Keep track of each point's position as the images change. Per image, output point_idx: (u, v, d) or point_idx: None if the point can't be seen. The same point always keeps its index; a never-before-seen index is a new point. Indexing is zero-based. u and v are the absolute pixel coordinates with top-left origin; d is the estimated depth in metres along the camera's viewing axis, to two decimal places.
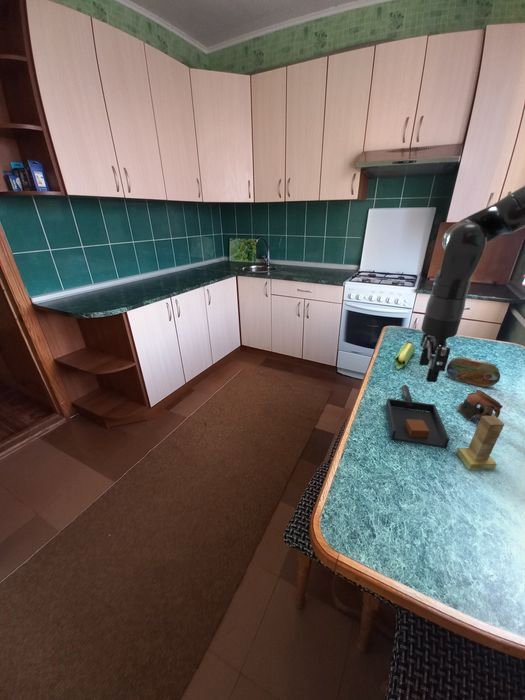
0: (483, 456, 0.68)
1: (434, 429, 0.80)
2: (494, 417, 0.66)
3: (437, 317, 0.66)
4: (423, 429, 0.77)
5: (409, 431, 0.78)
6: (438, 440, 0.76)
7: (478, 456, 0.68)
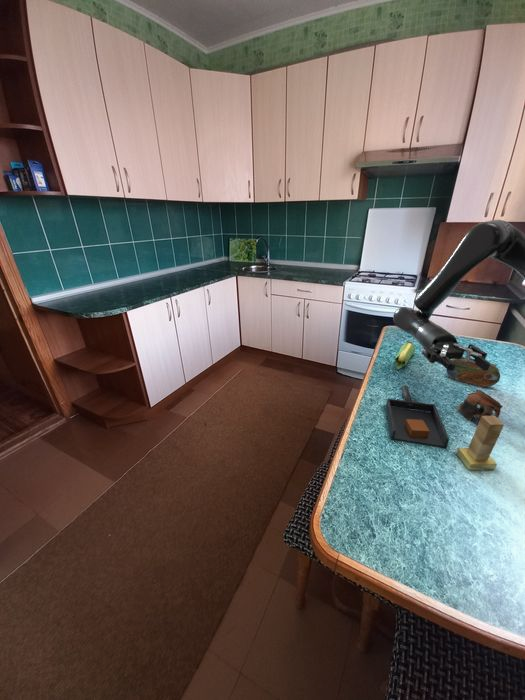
0: (483, 456, 0.68)
1: (434, 429, 0.80)
2: (494, 417, 0.66)
3: (422, 345, 0.87)
4: (423, 429, 0.77)
5: (409, 431, 0.78)
6: (438, 440, 0.76)
7: (478, 456, 0.68)
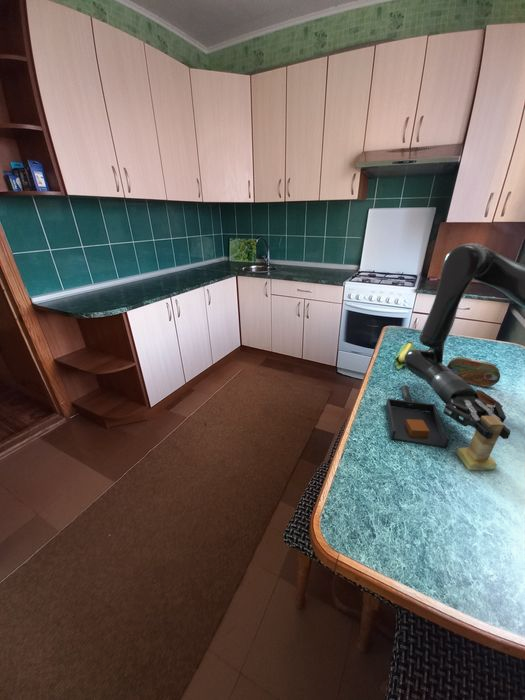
0: (483, 456, 0.68)
1: (434, 429, 0.80)
2: (494, 417, 0.65)
3: None
4: (423, 429, 0.77)
5: (409, 431, 0.78)
6: (438, 440, 0.76)
7: (478, 456, 0.68)
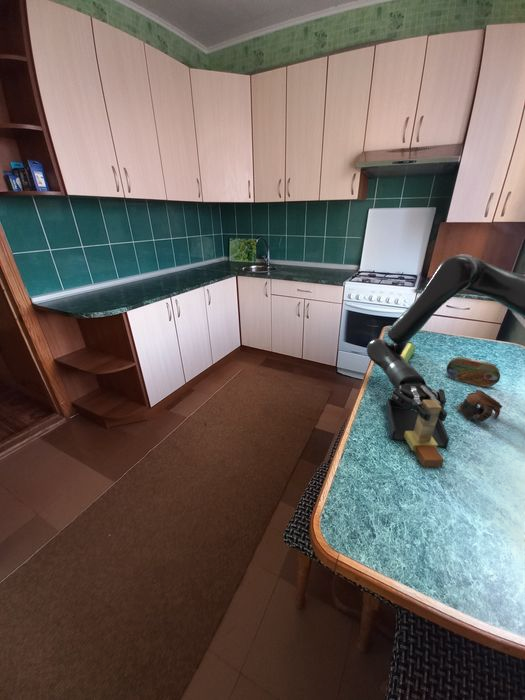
0: (426, 438, 0.72)
1: (434, 429, 0.80)
2: (434, 401, 0.70)
3: (391, 383, 0.84)
4: (437, 458, 0.69)
5: (421, 460, 0.70)
6: (438, 440, 0.76)
7: (420, 437, 0.72)
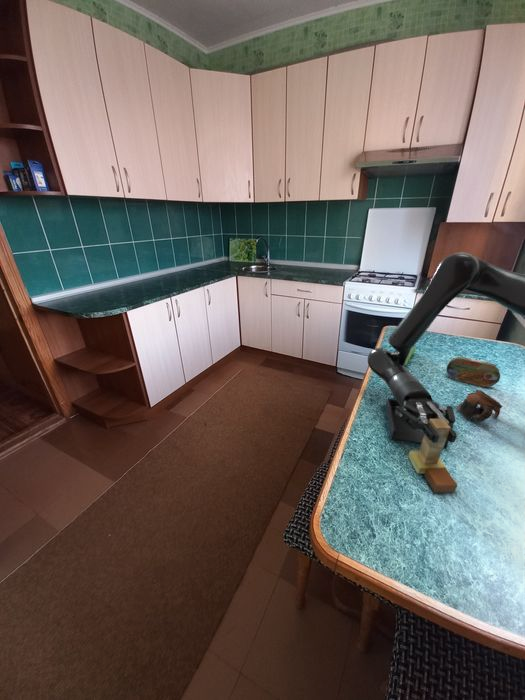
0: (433, 460, 0.66)
1: None
2: (442, 420, 0.64)
3: (395, 398, 0.78)
4: (450, 483, 0.63)
5: (432, 485, 0.64)
6: None
7: (427, 459, 0.66)
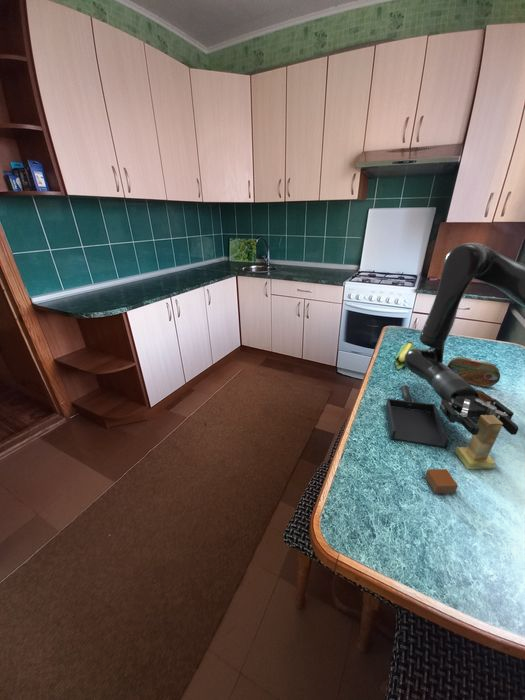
0: (482, 456, 0.68)
1: (434, 429, 0.80)
2: (493, 416, 0.66)
3: (439, 395, 0.79)
4: (451, 483, 0.63)
5: (433, 486, 0.64)
6: (438, 440, 0.76)
7: (477, 455, 0.68)
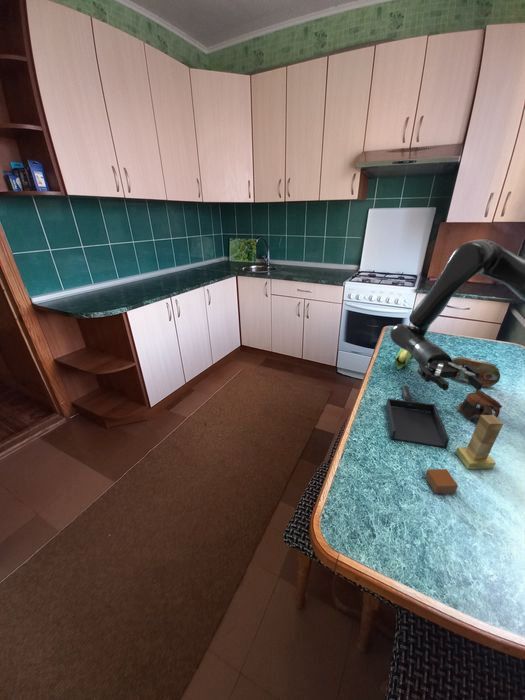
0: (482, 456, 0.68)
1: (434, 429, 0.80)
2: (493, 416, 0.66)
3: (418, 362, 0.89)
4: (451, 483, 0.63)
5: (433, 486, 0.64)
6: (438, 440, 0.76)
7: (477, 455, 0.68)
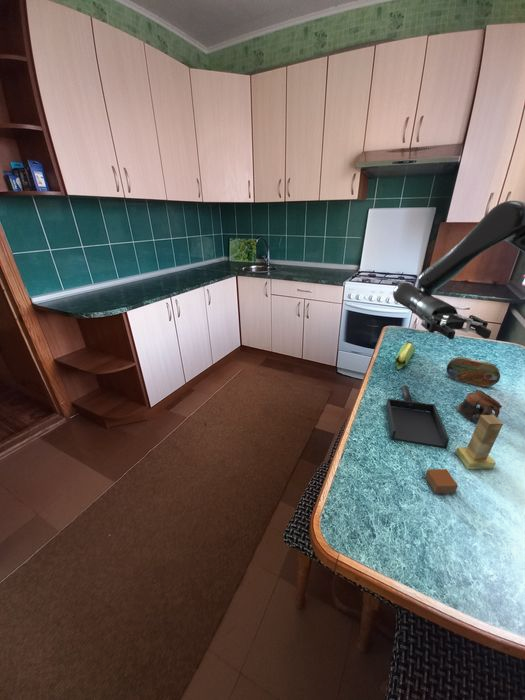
0: (482, 456, 0.68)
1: (434, 429, 0.80)
2: (493, 416, 0.66)
3: (422, 318, 0.85)
4: (451, 483, 0.63)
5: (433, 486, 0.64)
6: (438, 440, 0.76)
7: (477, 455, 0.68)
